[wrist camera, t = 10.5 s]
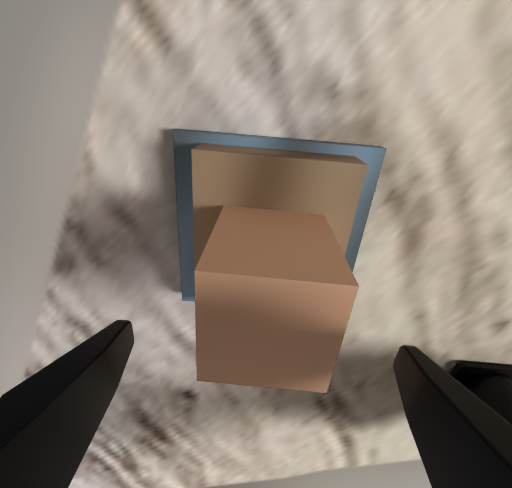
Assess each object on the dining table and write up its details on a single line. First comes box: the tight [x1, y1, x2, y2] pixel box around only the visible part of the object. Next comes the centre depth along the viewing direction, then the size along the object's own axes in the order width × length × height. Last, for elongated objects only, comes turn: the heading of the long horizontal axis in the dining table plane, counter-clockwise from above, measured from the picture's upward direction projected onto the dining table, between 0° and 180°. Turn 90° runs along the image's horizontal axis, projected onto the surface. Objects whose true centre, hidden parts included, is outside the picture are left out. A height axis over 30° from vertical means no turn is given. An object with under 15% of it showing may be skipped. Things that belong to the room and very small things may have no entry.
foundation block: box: [173, 129, 386, 302], centre depth 16 cm, size 11×11×3 cm
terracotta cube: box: [195, 206, 359, 393], centre depth 12 cm, size 5×5×6 cm
